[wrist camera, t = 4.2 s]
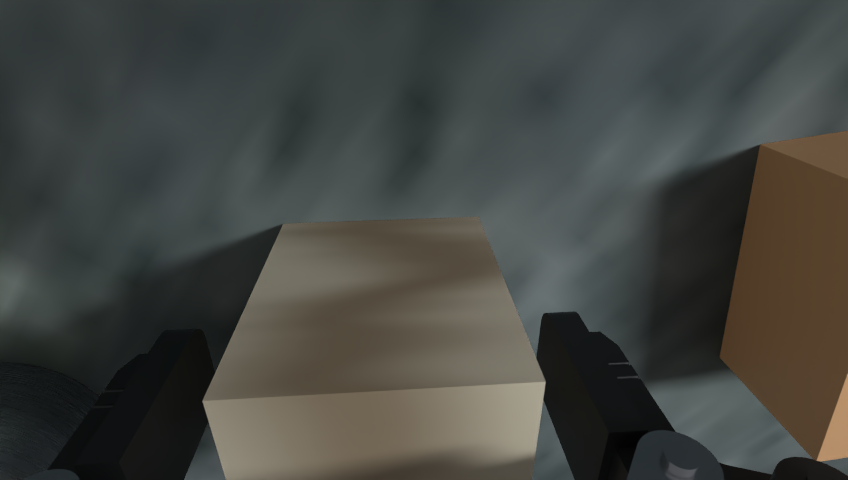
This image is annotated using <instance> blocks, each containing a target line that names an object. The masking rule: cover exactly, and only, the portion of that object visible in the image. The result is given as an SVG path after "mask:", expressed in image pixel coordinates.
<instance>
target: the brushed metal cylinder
mask: <svg viewBox="0 0 848 480" xmlns="http://www.w3.org/2000/svg"><path fill="white" fill-rule="evenodd" d="M98 398H99V397H98V396H97V395H96V394H95V393H94V392H93V391H91V390H90V389H88V388H87V387H85V386H84V385H82V384H81V383H79V382H77V381H75V380H74V379H72V378H69V377H67V376H65V375H63V374H60V373H58V372H55V371H52V370H49V369H45V368H41V367H38V366H33V365H27V364H19V363H0V480H23V479H24V478H27V477H29V476H31V475H33V474H36V473H39V472H42V471H47V469H48V468H49V467H50V465H51V464H52V462H53V461H54V460H55V458H56V457H57V455H58V454H59V453H60V451H61V450H62V448H63V447H64V446H65V444H66V443H67V441H68V440H69V439H70V437H71V436H72V434H73V433H74V432H75V430H76V429H77V427H78V426H79V425H80V423H81V422H82V421H83V419H84V418H85V416H86V415H87V414H88V412H89V411H90V409H93V408H94V406H93V405H94V404H95V402H96V401H97V400H98Z"/></svg>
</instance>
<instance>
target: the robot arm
mask: <svg viewBox="0 0 848 480" xmlns="http://www.w3.org/2000/svg"><path fill="white" fill-rule="evenodd" d="M536 359H537V361H538V364H539V366H540V369H541V371H542V374H543V376H544V379H545V381H546V384H545V391H544V398H543V400H544V402H545V405H546V407H547V410H548V412H549V415H550V418H551V420H552V423H553V425H554V428H555V430H556V433H557V435H558V438H559V441H560V443H561V446H562V448H563V451H564V453H565V456H566V458H567V461H568V464H569V466H570V469H571V471H572V474H573V476H574V479H575V480H848V476H847V475H845V474H844V473H842V472H840V471H839V470H837V469H835V468H833V467H831V466H829V465H827V464H824V463H822V462H819V461H816V460H813V459H808V458H803V457H790V458H786V459H783V460H782V461H780V462H779V463H778V464H777V466H776V468H775V470H774V472H773V474H772V475H771V474H766V473H761V472H757V471H752V470H747V469H742V468H738V467H733V466H729V465H725V464H721V463H719V462H718V461H717V459H716V458H715V457H714V455H713V454H712V453H711V452H710V451H709V450H708V449H707V448H706V447H704V446H703V445H702V444H700V443H699V442H697V441H696V440H694V439H692V438H690V437H688V436H686V435H683V434H680V433H678V432H675V430H674V429H673V427H672V426H671V424H670V423H669V421H668V420H667V418H666V417H665V415H664V414H663V412H662V411H661V409H660V408H659V406H658V405H657V403H656V402H655V400H654V399H653V397H652V396H651V394H650V393H649V391H648V390H647V388H646V387H645V385H644V384H643V382H642V381H641V379H638V375H637V373H636V372H635V370H634V369H633V367H632V366H631V365H629V361H628V360H627V358H626V357H625V355H624V354H623V352H622V351H621V349H620V348H619V346H618V345H617V344H615V343H614V342H613V341H612V340H610V339H609V338H608V337H606V336H605V335H604V334H602V333H601V332H589V331H588V329H587V327H586V326H585V324H584V322H583V321H582V319H581V318H580V316H579V314H578V313H577V312H557V313H544V314H543V316H542V320H541V327H540V335H539V343H538V350H537V358H536ZM214 374H215V371H214V367H213V364H212V360H211V356H210V353H209V349H208V345H207V341H206V338H205V335H204V333H203V331H202V330H201V329H186V330H167V331H164V332H163V333H162V334H161V335H160V336H159V338H158V339H157V341H156V342H155V344H154V345H153V347H152V348H151V350H150V351H149V353H148V354H139V355H138V356H136V357H135V358H134V359H132V360H131V361H130V362H129V363H127V364H126V365H125V366H124V367H122V368H121V369H120V370H118V372H117V373H116V374H115V376H114V377H113V379H112V380H111V381H110V383H109V384H108V386H107V387H106V388H105V393H102V394H101V395H100V397H99V398H98V400H97V401H96V402H95V404H94V405H93V406H94V408H93V409H90V411H89V412H88V414H87V415H86V416H85V418H84V419H83V421H82V422H81V423H80V425H79V426H78V427H77V429H76V430H75V432H74V433H73V434H72V436H71V437H70V439H69V440H68V441H67V443H66V444H65V446H64V447H63V448H62V450H61V451H60V453H59V454H58V455H57V457H56V458H55V460H54V461H53V462H52V464H51V465H50V467H49V468H48V469H47V471H42V472H39V473H36V474H33V475H31V476H29V477H27V478H24V479H23V480H184V478H185V476H186V473H187V471H188V469H189V466H190V464H191V461H192V459H193V457H194V454H195V452H196V449H197V447H198V445H199V442H200V440H201V437H202V435H203V433H204V430H205V428H206V426H207V423H208V418H207V415H206V411H205V408H204V405H203V399H204V396H205V394H206V392H207V390H208V388H209V385H210V383H211V381H212V379H213V377H214Z"/></svg>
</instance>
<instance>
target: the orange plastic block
mask: <svg viewBox="0 0 848 480" xmlns="http://www.w3.org/2000/svg"><path fill="white" fill-rule="evenodd" d="M720 358H721V360H722V361H723V362H724V363H725V364H726V365H727V366H728V367H729V368H730V369H731V370H732V371H733V373H734V374H735V375H736V376H737V377H738V378H739V379H740V380H741V381H742V382H743V383H744V384H745V386H746V387H747V388H748V389H749V390H750V391H751V392H752V393H753V394H754V395H755V396H756V397H757V399H758V400H759V401H760V402H761V403H762V404H763V405H764V406H765V407H766V408H767V409H768V410H769V412H770V413H771V414H772V415H773V416H774V417H775V418H776V419H777V420H778V421H779V422H780V424H781V425H782V426H783V427H784V428H785V429H786V430H787V431H788V432H789V433H790V434H791V435H792V437H793V438H794V439H795V440H796V441H797V442H798V443H799V444H800V445H801V446H802V447H803V448H804V450H805V451H806V452H807V453H808V454H809V455H810V456H811V457H812V458H813V459H814V460H816V461H819V462H820V461H827V460H833V459H840V458H846V457H848V131H843V132H837V133H830V134H824V135H818V136H811V137H805V138H798V139H792V140H785V141H779V142H772V143H766V144H760V148H759V153H758V158H757V163H756V169H755V174H754V179H753V184H752V190H751V195H750V200H749V205H748V211H747V216H746V221H745V226H744V232H743V237H742V242H741V247H740V253H739V258H738V263H737V268H736V274H735V279H734V284H733V289H732V295H731V300H730V305H729V310H728V315H727V321H726V326H725V331H724V336H723V342H722V347H721V352H720Z"/></svg>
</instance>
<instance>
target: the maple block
mask: <svg viewBox="0 0 848 480" xmlns="http://www.w3.org/2000/svg"><path fill="white" fill-rule="evenodd" d="M545 384H546V381H545V379H544V376H543V374H542V371H541V369H540V366H539V364H538V361H537V359H536V357H535V354H534V352H533V349H532V347H531V344H530V342H529V339H528V337H527V335H526V332H525V330H524V327H523V325H522V322H521V320H520V317H519V315H518V313H517V310H516V308H515V305H514V303H513V300H512V298H511V295H510V293H509V290H508V288H507V286H506V283H505V281H504V278H503V276H502V273H501V271H500V268H499V266H498V264H497V261H496V259H495V256H494V254H493V251H492V249H491V246H490V244H489V242H488V239H487V237H486V234H485V232H484V229H483V227H482V224H481V222H480V219H479V217H459V218H430V219H402V220H373V221H345V222H317V223H288V224H283V225H282V228H281V230H280V232H279V234H278V236H277V239H276V241H275V243H274V245H273V247H272V250H271V252H270V254H269V256H268V258H267V260H266V263H265V265H264V267H263V269H262V271H261V274H260V276H259V278H258V280H257V282H256V285H255V287H254V289H253V291H252V293H251V296H250V298H249V300H248V302H247V304H246V307H245V309H244V311H243V313H242V315H241V317H240V320H239V322H238V324H237V326H236V328H235V331H234V333H233V335H232V337H231V339H230V342H229V344H228V346H227V348H226V350H225V353H224V355H223V357H222V359H221V361H220V364H219V366H218V368H217V370H216V372H215V374H214V377H213V379H212V381H211V383H210V385H209V388H208V390H207V392H206V394H205V396H204V399H203V405H204V408H205V411H206V415H207V418H208V421H209V425H210V428H211V431H212V435H213V438H214V441H215V445H216V448H217V451H218V455H219V458H220V461H221V465H222V468H223V471H224V474H225V478H226V480H532V474H533V467H534V460H535V453H536V446H537V439H538V432H539V425H540V418H541V412H542V405H543V398H544V391H545Z"/></svg>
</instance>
